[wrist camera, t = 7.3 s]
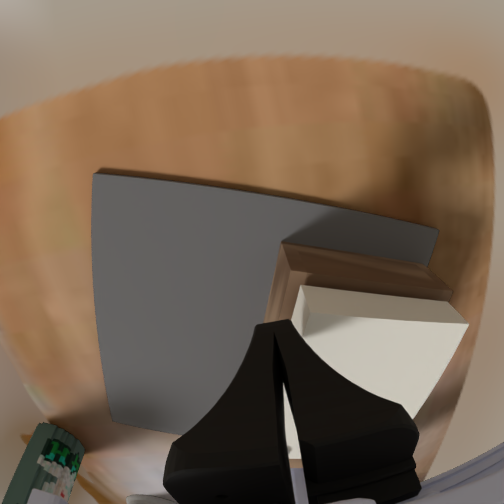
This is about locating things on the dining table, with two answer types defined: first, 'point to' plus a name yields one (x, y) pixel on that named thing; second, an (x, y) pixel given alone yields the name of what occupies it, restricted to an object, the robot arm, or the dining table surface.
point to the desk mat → (202, 283)
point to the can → (46, 465)
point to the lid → (377, 343)
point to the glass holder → (146, 500)
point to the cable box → (345, 279)
